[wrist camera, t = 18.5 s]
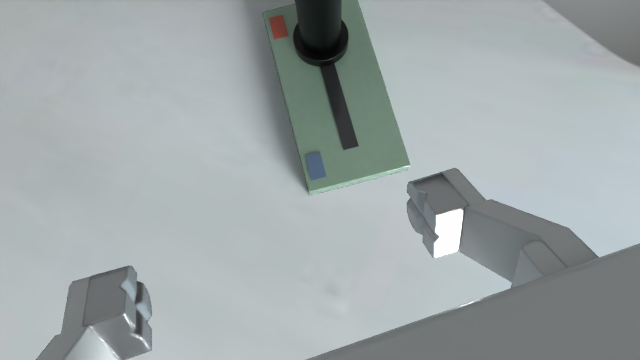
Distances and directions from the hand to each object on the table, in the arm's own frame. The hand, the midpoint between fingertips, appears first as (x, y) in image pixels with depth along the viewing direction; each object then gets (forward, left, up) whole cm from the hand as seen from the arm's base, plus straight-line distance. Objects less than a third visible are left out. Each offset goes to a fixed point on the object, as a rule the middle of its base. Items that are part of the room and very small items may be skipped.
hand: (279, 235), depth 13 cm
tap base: (+1, +14, -21) cm, 26 cm away
